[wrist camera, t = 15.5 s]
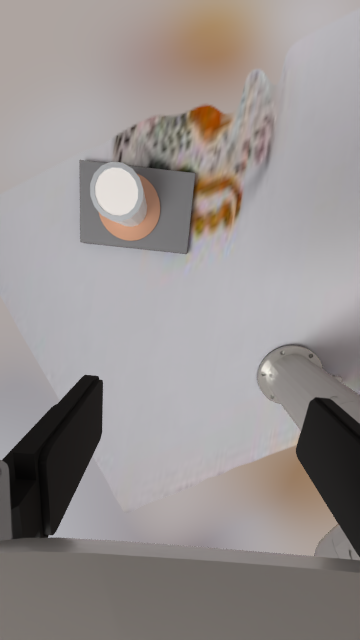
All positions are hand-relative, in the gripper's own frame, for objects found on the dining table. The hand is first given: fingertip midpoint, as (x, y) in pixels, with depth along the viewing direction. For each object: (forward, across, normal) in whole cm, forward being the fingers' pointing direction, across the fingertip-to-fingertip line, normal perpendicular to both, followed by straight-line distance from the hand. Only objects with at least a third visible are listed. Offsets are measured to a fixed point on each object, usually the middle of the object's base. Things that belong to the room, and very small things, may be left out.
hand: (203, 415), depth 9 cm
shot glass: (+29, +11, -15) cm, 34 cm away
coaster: (+29, +11, -15) cm, 34 cm away
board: (+30, +10, -15) cm, 35 cm away
